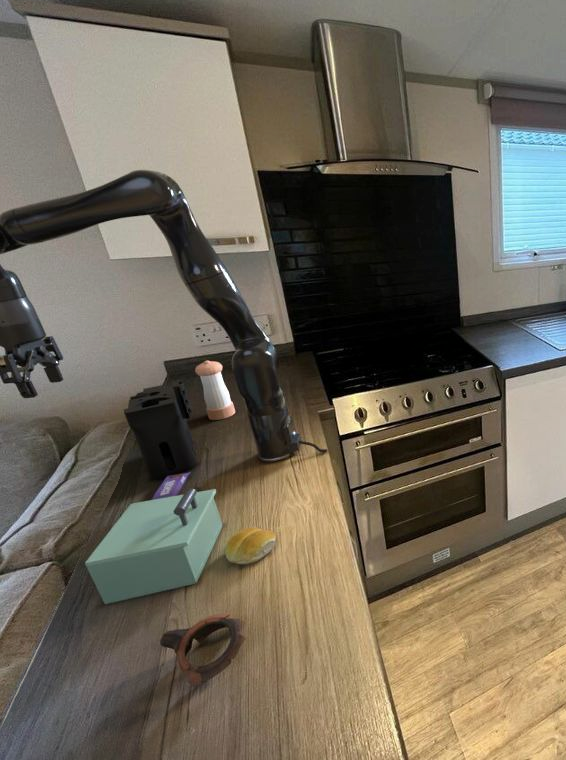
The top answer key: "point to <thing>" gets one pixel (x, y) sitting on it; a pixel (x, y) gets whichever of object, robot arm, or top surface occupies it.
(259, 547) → the bread roll
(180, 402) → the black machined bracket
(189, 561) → the box
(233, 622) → the brown ring with stub
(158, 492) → the snack package
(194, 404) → the top surface
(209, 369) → the pepper shaker
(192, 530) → the cold box lid
